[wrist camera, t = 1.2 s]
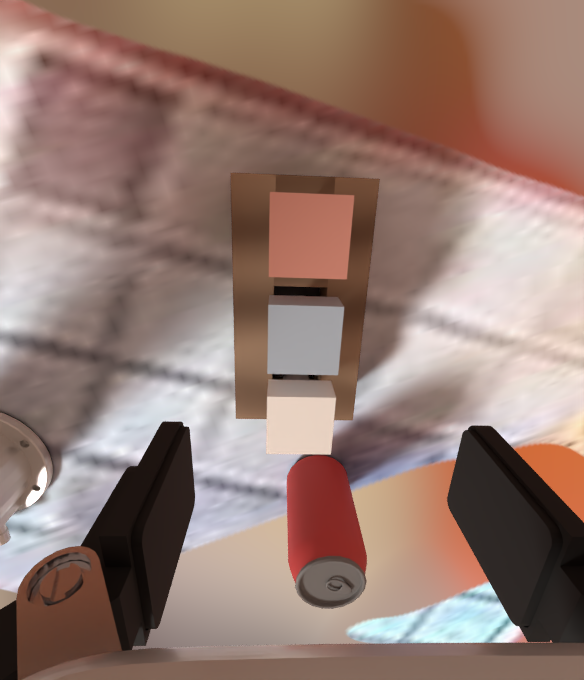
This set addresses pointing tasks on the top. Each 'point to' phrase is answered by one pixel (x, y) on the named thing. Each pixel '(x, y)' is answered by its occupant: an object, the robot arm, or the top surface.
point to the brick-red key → (309, 235)
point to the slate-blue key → (304, 334)
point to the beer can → (324, 534)
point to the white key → (300, 415)
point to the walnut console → (293, 283)
